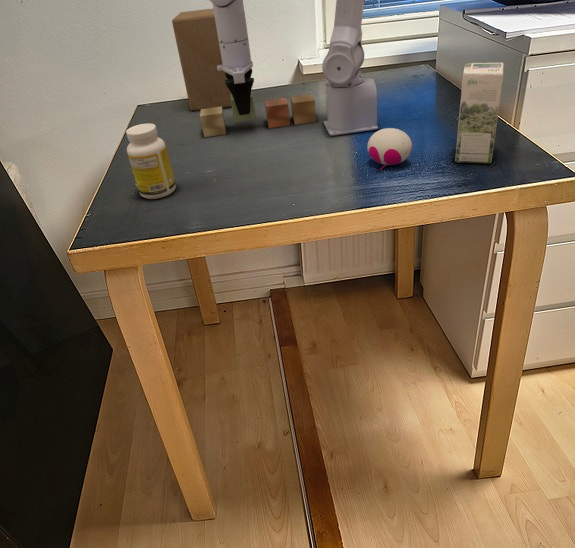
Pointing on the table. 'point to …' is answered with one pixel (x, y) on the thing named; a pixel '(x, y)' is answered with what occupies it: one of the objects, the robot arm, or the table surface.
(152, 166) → the pill bottle
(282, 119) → the block line
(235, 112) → the pale green cube
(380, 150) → the stress ball
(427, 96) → the table surface
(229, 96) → the wooden block
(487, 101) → the syrup box
